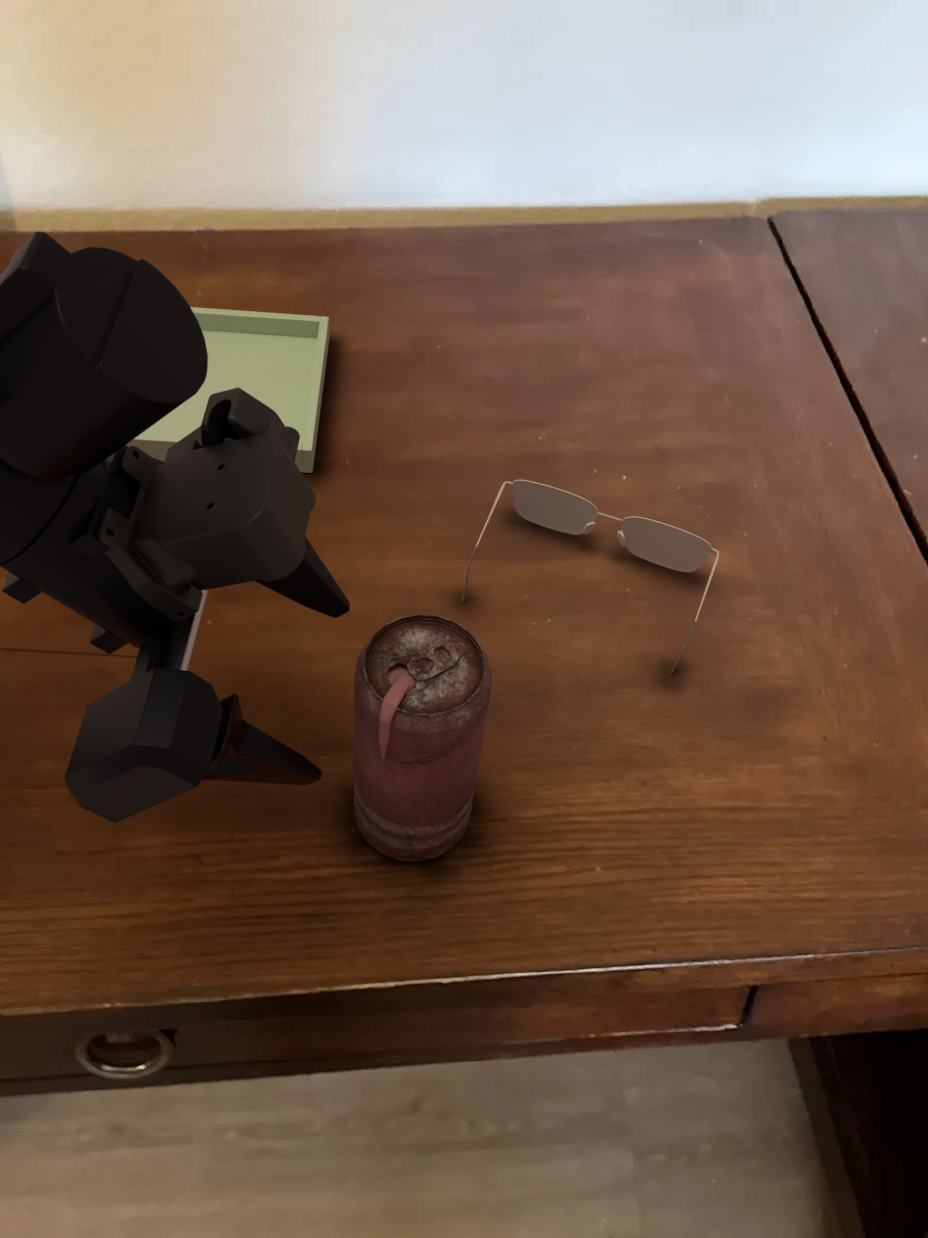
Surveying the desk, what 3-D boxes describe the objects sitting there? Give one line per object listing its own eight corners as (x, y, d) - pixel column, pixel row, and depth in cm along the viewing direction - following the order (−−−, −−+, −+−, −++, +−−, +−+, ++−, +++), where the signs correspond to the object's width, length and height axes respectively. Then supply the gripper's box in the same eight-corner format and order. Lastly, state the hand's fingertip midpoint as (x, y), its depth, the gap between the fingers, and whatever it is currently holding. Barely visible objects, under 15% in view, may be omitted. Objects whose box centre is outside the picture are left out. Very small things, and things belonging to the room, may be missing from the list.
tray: (106, 460, 78) (101, 436, 76) (142, 326, 86) (138, 302, 84) (312, 473, 79) (311, 450, 77) (329, 339, 87) (329, 316, 85)
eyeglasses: (710, 580, 76) (724, 541, 72) (675, 683, 71) (689, 647, 68) (500, 510, 78) (505, 469, 74) (455, 606, 74) (457, 568, 70)
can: (332, 844, 63) (328, 694, 52) (383, 748, 66) (389, 588, 55) (440, 888, 62) (460, 745, 51) (486, 788, 65) (513, 634, 54)
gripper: (98, 619, 36) (444, 829, 45) (221, 244, 48) (478, 470, 57) (-88, 732, 42) (248, 897, 51) (60, 376, 54) (314, 561, 63)
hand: (330, 691), depth 55 cm, fingers open, 9 cm apart
